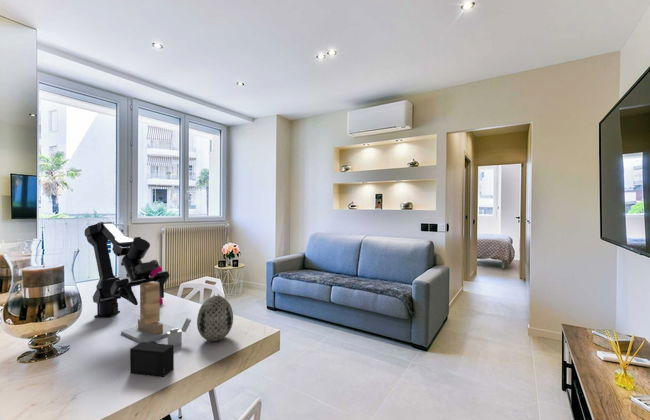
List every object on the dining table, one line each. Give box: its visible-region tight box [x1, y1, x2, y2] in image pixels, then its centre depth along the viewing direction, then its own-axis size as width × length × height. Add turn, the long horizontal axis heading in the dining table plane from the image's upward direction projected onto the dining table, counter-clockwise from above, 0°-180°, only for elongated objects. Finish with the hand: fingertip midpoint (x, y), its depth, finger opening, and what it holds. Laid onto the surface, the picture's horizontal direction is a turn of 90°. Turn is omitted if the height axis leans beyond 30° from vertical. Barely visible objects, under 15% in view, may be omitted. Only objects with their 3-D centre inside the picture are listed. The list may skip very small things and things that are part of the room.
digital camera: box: [129, 341, 175, 378], centre depth 83 cm, size 10×5×7 cm, turn 80°
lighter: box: [166, 317, 192, 346], centre depth 99 cm, size 7×2×8 cm, turn 119°
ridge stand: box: [120, 318, 180, 344], centre depth 107 cm, size 16×12×4 cm
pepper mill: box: [149, 265, 164, 306], centre depth 138 cm, size 7×7×20 cm
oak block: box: [139, 281, 161, 325], centre depth 107 cm, size 4×4×14 cm
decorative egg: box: [196, 295, 234, 342], centre depth 101 cm, size 12×12×15 cm
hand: (150, 301), depth 107 cm, fingers open, 9 cm apart
